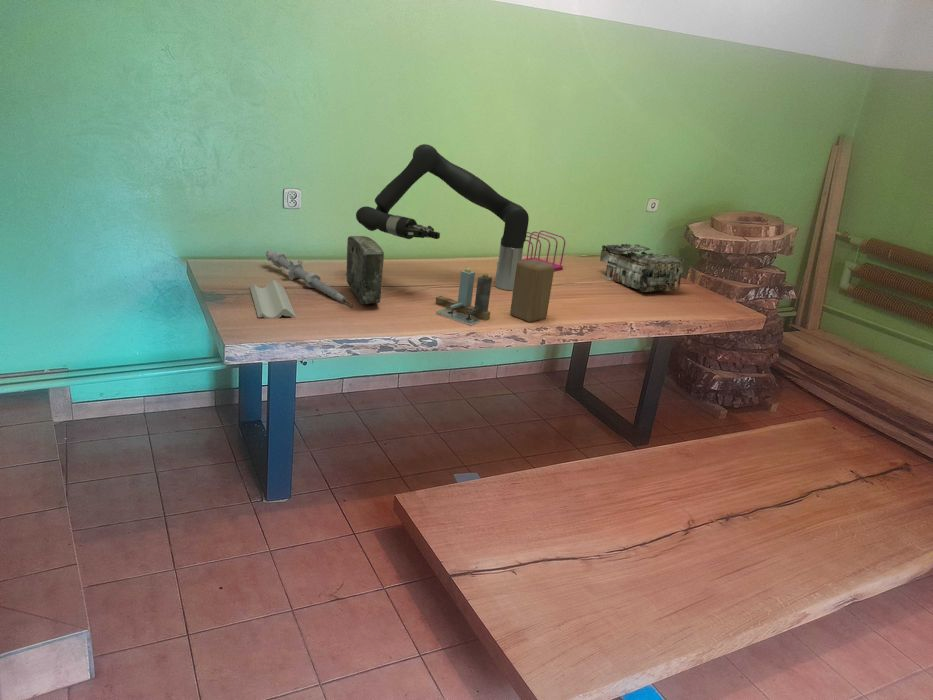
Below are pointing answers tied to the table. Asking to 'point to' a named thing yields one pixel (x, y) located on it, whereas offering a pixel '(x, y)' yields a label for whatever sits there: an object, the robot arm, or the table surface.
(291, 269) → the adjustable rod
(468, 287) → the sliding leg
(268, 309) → the crown molding
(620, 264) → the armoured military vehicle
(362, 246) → the concrete block
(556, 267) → the file sorter
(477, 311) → the dark grey l-shaped piece
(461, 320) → the grey flat plate
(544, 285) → the block
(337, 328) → the table surface
